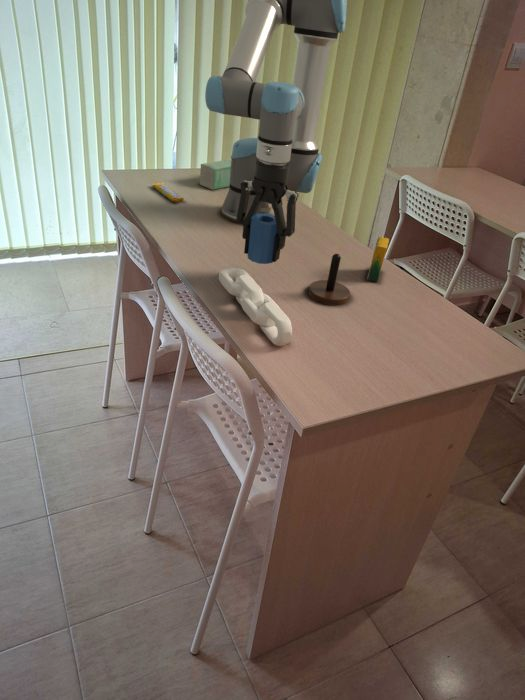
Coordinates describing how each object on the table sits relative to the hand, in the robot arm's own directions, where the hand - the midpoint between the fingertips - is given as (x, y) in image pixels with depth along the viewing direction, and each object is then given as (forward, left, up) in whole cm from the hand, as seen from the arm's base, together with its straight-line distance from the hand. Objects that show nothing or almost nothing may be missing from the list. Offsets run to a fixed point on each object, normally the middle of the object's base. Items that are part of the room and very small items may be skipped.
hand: (261, 255), depth 132 cm
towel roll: (0, 0, -1) cm, 1 cm away
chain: (+17, -3, -7) cm, 18 cm away
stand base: (+6, +17, -7) cm, 19 cm away
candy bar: (-58, -25, -7) cm, 63 cm away
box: (-73, -7, -7) cm, 73 cm away
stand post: (+6, +17, -5) cm, 19 cm away
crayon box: (-6, +32, -7) cm, 33 cm away
